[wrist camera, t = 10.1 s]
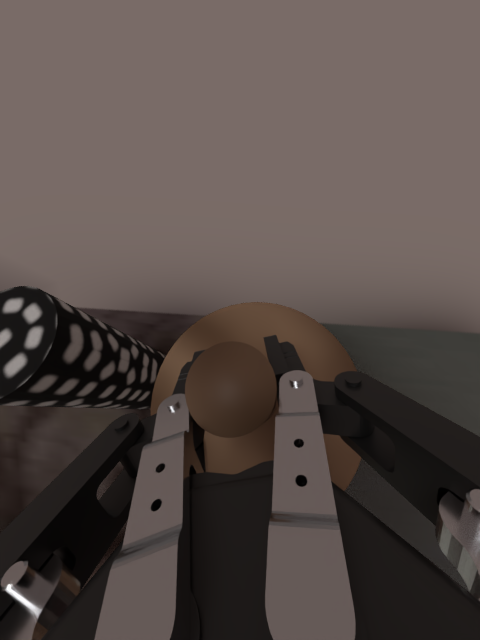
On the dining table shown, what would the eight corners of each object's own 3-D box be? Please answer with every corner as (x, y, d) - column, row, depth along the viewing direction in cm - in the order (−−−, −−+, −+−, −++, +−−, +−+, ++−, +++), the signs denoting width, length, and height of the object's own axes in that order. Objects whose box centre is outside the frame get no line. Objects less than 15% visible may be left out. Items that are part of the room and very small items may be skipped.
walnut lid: (247, 589, 13) (195, 909, 5) (124, 393, 18) (-9, 376, 10) (408, 407, 15) (576, 400, 7) (257, 277, 20) (243, 179, 12)
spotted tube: (142, 422, 32) (-34, 435, 14) (110, 380, 35) (-71, 344, 17) (186, 376, 34) (79, 334, 15) (151, 339, 37) (26, 266, 18)
